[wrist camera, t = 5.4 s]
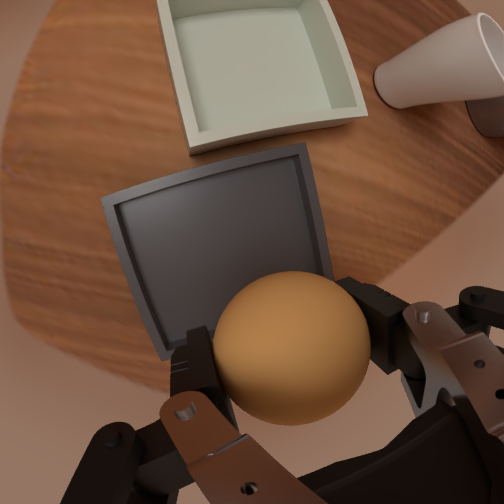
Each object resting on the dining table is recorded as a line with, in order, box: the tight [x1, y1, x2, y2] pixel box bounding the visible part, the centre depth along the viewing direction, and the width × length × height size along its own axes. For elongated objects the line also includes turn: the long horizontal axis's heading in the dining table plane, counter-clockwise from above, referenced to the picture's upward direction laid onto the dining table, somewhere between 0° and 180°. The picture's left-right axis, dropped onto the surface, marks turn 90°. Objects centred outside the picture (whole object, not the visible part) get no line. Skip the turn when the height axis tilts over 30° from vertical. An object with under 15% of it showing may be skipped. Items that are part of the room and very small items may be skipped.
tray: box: [101, 142, 334, 361], centre depth 23 cm, size 16×14×2 cm
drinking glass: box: [374, 13, 504, 109], centre depth 17 cm, size 7×7×15 cm
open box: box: [156, 0, 368, 156], centre depth 19 cm, size 14×14×5 cm
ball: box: [213, 271, 371, 426], centre depth 9 cm, size 5×5×5 cm
